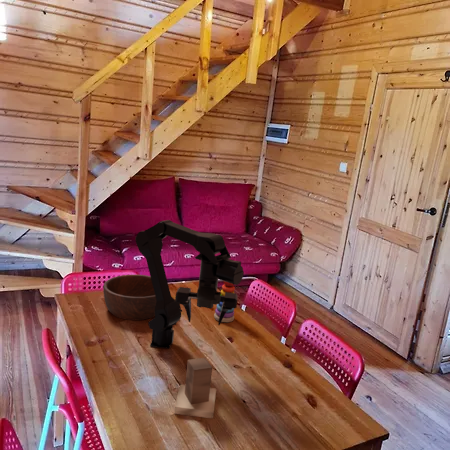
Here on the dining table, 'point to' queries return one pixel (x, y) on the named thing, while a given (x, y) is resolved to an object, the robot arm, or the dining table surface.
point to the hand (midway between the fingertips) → (204, 323)
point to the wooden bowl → (130, 297)
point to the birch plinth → (195, 405)
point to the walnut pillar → (198, 380)
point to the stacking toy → (230, 313)
